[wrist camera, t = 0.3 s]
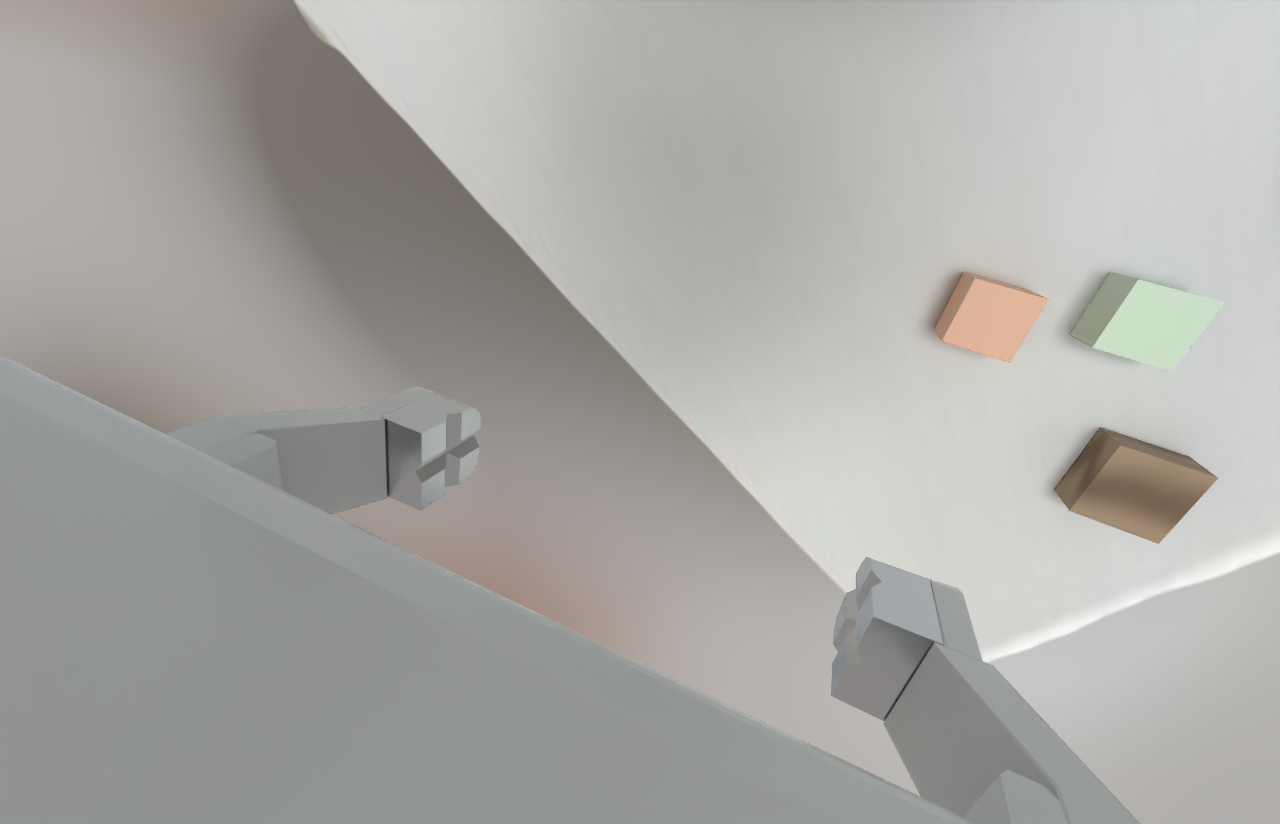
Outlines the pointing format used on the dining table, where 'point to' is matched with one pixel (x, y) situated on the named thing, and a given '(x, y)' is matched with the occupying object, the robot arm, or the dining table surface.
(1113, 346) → the sage block
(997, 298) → the terracotta block
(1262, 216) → the dining table surface
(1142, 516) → the walnut base
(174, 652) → the robot arm
